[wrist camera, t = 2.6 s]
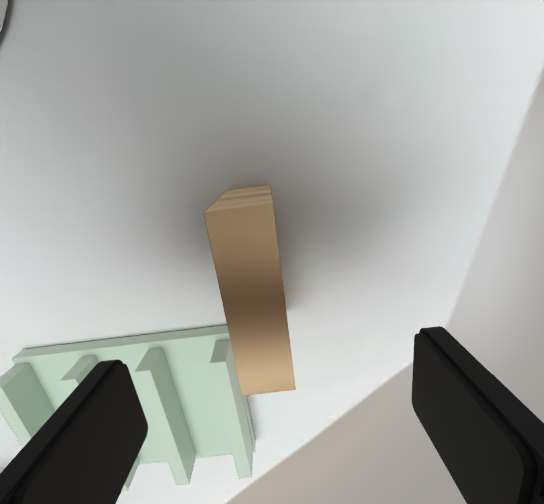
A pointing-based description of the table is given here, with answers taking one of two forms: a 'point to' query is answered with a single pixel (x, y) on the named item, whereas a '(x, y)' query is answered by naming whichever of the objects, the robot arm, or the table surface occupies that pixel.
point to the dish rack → (146, 394)
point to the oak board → (252, 288)
